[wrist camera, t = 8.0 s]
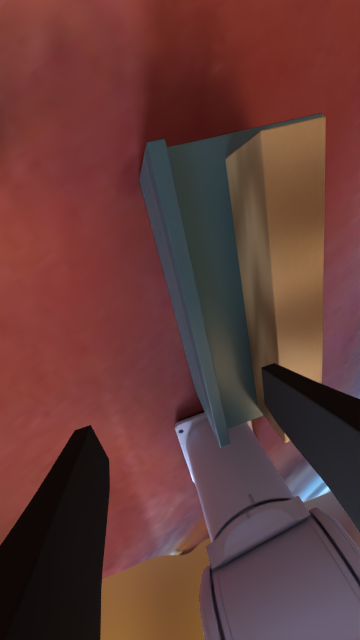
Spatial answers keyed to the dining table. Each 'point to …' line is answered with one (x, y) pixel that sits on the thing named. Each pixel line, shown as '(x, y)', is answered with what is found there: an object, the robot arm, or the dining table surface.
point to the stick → (281, 247)
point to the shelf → (204, 269)
